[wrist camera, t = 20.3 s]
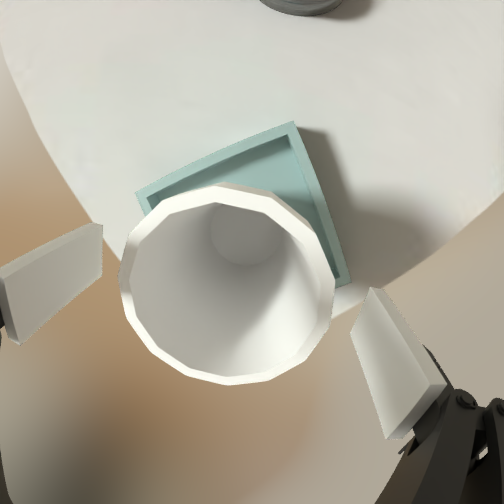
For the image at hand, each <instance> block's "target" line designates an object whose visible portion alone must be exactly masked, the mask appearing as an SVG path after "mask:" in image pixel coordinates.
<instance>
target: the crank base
mask: <svg viewBox="0 0 504 504" xmlns="http://www.w3.org/2000/svg"><path fill="white" fill-rule="evenodd" d="M260 1H261V2H262V3H264V4H265V5H266V6H268V7H270V8H272V9H274V10H276V11H279V12H282V13H286V14H290V15H297V16H314V15H320V14H324V13H327V12H330V11H331V10H333V9H335V8H336V7H337V6H338V5H339V4H340V3H341V1H342V0H260Z"/></svg>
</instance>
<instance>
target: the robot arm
mask: <svg viewBox="0 0 504 504" xmlns="http://www.w3.org/2000/svg"><path fill="white" fill-rule="evenodd" d="M102 237H103V225H101V224H97V223H92V222H90V223H88V224H86V225H84V226H82V227H79V228H77V229H75V230H73V231H71V232H69V233H67V234H64V235H62V236H60V237H58V238H56V239H54V240H52V241H50V242H48V243H46V244H44V245H42V246H40V247H38V248H36V249H34V250H32V251H30V252H28V253H26V254H24V255H22V256H20V257H19V258H17V259H15V260H13V261H12V262H9V263H8V264H6V265H4V266H2V267H1V268H0V328H2V327H3V326H4V325H5V328H6V332H7V335H8V338H9V339H11V340H12V341H14V342H15V343H17V344H18V345H20V346H21V345H22V344H23V343H24V342H25V341H26V340H27V339H28V338H29V337H30V336H31V335H33V334H34V333H35V332H36V331H37V330H38V329H39V328H40V327H41V326H42V325H44V324H45V323H46V322H47V321H48V320H49V319H50V318H51V317H53V316H54V315H55V314H56V313H57V312H58V311H60V310H61V309H62V308H63V307H64V306H65V305H67V304H68V303H69V302H70V301H71V300H72V299H74V298H75V297H76V296H77V295H79V293H81V292H82V291H83V290H85V289H86V288H87V287H88V286H89V285H91V284H92V283H93V282H94V281H96V280H97V279H98V278H99V277H101V276H102ZM350 335H351V338H352V341H353V344H354V346H355V349H356V352H357V354H358V357H359V360H360V363H361V366H362V369H363V371H364V374H365V377H366V380H367V383H368V386H369V389H370V392H371V395H372V398H373V401H374V404H375V407H376V410H377V413H378V417H379V420H380V423H381V426H382V430H383V433H384V436H385V439H386V440H390V439H402V438H404V437H405V435H406V434H407V433H408V432H409V431H410V430H411V429H412V428H413V431H414V433H415V436H414V437H413V438H412V439H411V440H410V441H409V442H408V443H407V444H406V445H405V446H404V447H403V448H402V449H401V450H400V451H399V452H398V454H401V453H402V452H403V451H405V452H404V454H403V456H402V458H401V460H400V462H399V463H398V465H397V467H396V469H395V471H394V473H393V474H392V476H391V478H390V480H389V481H388V483H387V485H386V486H385V488H384V490H383V491H382V493H381V494H380V496H379V498H378V499H377V501H376V502H375V504H504V400H502V399H500V398H495V399H493V400H492V401H491V402H490V404H489V405H488V406H487V407H486V408H485V407H480V406H478V404H477V402H476V400H475V399H474V397H473V396H472V395H470V394H469V393H468V392H466V391H464V390H462V389H455V390H454V388H453V386H452V385H451V383H450V381H449V380H448V378H447V376H446V375H445V373H444V372H443V370H442V369H440V365H439V364H438V362H436V359H435V358H434V356H433V354H432V353H431V352H430V351H429V350H428V349H427V348H426V347H425V346H424V345H423V344H422V343H421V342H420V341H419V339H418V337H417V336H416V334H415V333H414V331H413V330H412V329H411V327H410V326H409V324H408V323H407V321H406V320H405V318H404V317H403V316H402V314H401V313H400V311H399V310H398V309H397V307H396V306H395V304H394V303H393V302H392V300H391V299H390V298H389V296H388V295H387V293H386V292H385V291H384V290H383V289H379V288H374V287H370V288H369V291H368V293H367V296H366V298H365V301H364V303H363V306H362V308H361V311H360V313H359V315H358V317H357V320H356V322H355V324H354V326H353V329H352V331H351V333H350ZM1 338H2V337H1V332H0V346H1ZM486 447H488V453H487V454H486V455H485V456H484V457H483V458H482V459H479V454H480V453H481V452H482V451H483V450H484V449H485V448H486ZM0 504H13V503H12V501H11V499H10V497H9V495H8V491H7V487H6V482H5V477H4V472H3V466H2V460H1V452H0Z"/></svg>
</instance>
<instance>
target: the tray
mask: <svg viewBox="0 0 504 504" xmlns="http://www.w3.org/2000/svg"><path fill="white" fill-rule="evenodd" d="M221 182H229V183H234V184H239V185H244V186H249V187H253V188H258V189H262V190H267V191H271V192H273V193H274V194H275V195H276V196H278V197H279V198H280V199H281V200H283V201H284V202H285V203H286V204H288V205H289V206H290V207H291V208H292V209H294V210H295V211H296V212H297V213H299V214H300V215H301V216H302V217H303V218H305V219H306V220H307V221H308V222H309V224H310V225H311V227H312V229H313V230H314V232H315V233H316V236H317V238H318V240H319V243H320V245H321V247H322V250H323V252H324V254H325V257H326V259H327V262H328V264H329V266H330V269H331V271H332V274H333V276H334V279H335V288H338V287H341V286H343V285H346V284H348V283H351V278H350V275H349V271H348V268H347V265H346V261H345V258H344V255H343V252H342V248H341V245H340V242H339V239H338V236H337V233H336V230H335V227H334V224H333V221H332V218H331V215H330V212H329V209H328V206H327V204H326V201H325V198H324V195H323V193H322V190H321V187H320V185H319V182H318V179H317V177H316V174H315V171H314V169H313V166H312V164H311V161H310V159H309V156H308V154H307V151H306V149H305V146H304V144H303V142H302V139H301V137H300V135H299V132H298V130H297V128H296V125H295V123H294V121H291V122H288V123H285V124H283V125H280V126H277V127H275V128H272V129H269V130H267V131H264V132H262V133H259V134H257V135H254V136H252V137H249V138H247V139H244V140H242V141H240V142H237V143H235V144H233V145H230V146H228V147H226V148H223V149H221V150H219V151H217V152H214V153H212V154H210V155H208V156H206V157H204V158H201V159H199V160H197V161H195V162H193V163H191V164H189V165H187V166H185V167H183V168H181V169H179V170H177V171H175V172H173V173H171V174H169V175H167V176H165V177H163V178H161V179H159V180H157V181H155V182H153V183H152V184H150V185H148V186H146V187H144V188H142V189H141V190H139V191H137V192H135V194H136V197H137V199H138V201H139V203H140V206H141V208H142V210H143V212H144V215H145V217H146V216H147V215H148V214H149V213H150V212H151V211H152V210H153V209H154V208H155V207H156V206H157V205H158V204H159V203H160V202H161V201H162V200H165V199H167V198H170V197H172V196H175V195H178V194H181V193H184V192H187V191H191V190H195V189H198V188H202V187H206V186H209V185H213V184H217V183H221Z"/></svg>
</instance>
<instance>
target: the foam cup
mask: <svg viewBox="0 0 504 504" xmlns="http://www.w3.org/2000/svg"><path fill="white" fill-rule="evenodd" d="M118 282H119V287H120V292H121V296H122V301H123V306H124V310H125V314H126V318H127V320H128V321H129V322H130V324H131V325H132V327H133V328H134V330H135V331H136V333H137V334H138V335H139V337H140V338H141V340H142V341H143V342H144V344H145V345H146V346H147V348H148V349H149V350H150V352H152V353H153V354H154V355H156V356H157V357H159V358H160V359H162V360H163V361H165V362H166V363H168V364H169V365H171V366H172V367H174V368H175V369H177V370H178V371H180V372H182V373H183V374H185V375H186V376H190V377H194V378H198V379H202V380H206V381H210V382H215V383H219V384H223V385H236V384H245V383H254V382H261V381H268V380H270V379H272V378H274V377H276V376H278V375H280V374H282V373H284V372H285V371H287V370H289V369H291V368H293V367H295V366H296V365H298V364H300V363H302V362H303V361H305V360H306V359H307V357H308V356H309V355H310V353H311V352H312V351H313V349H314V348H315V346H316V345H317V344H318V342H319V341H320V339H321V338H322V337H323V335H324V334H325V332H326V331H327V330H328V328H329V327H330V322H331V314H332V307H333V298H334V290H335V279H334V276H333V274H332V271H331V269H330V266H329V264H328V262H327V259H326V257H325V254H324V252H323V250H322V247H321V245H320V243H319V240H318V238H317V236H316V233H315V232H314V230H313V229H312V227H311V225H310V224H309V222H308V221H307V220H306V219H305V218H303V217H302V216H301V215H300V214H299V213H297V212H296V211H295V210H294V209H292V208H291V207H290V206H289V205H288V204H286V203H285V202H284V201H283V200H281V199H280V198H279V197H278V196H276V195H275V194H274V193H273V192H271V191H267V190H262V189H258V188H253V187H249V186H244V185H239V184H234V183H229V182H221V183H217V184H213V185H209V186H206V187H202V188H198V189H195V190H191V191H187V192H184V193H181V194H178V195H175V196H172V197H170V198H167V199H165V200H162V201H161V202H160V203H159V204H158V205H157V206H156V207H155V208H154V209H153V210H152V211H151V212H150V213H149V214H148V215H147V216H146V217H145V218H144V219H143V220H142V221H141V222H140V223H139V224H138V225H137V226H136V227H135V228H134V229H133V230H132V231H131V233H130V234H129V235H128V239H127V242H126V246H125V249H124V253H123V257H122V261H121V264H120V269H119V272H118Z"/></svg>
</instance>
